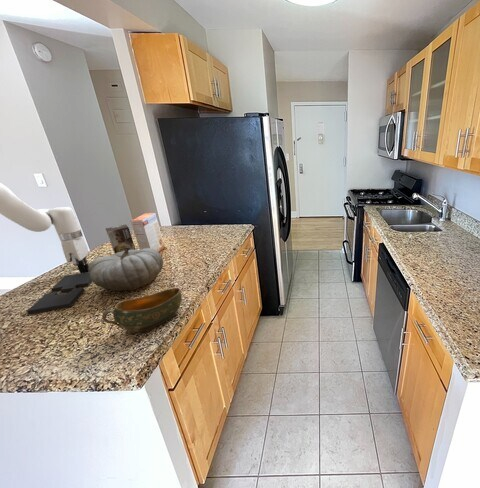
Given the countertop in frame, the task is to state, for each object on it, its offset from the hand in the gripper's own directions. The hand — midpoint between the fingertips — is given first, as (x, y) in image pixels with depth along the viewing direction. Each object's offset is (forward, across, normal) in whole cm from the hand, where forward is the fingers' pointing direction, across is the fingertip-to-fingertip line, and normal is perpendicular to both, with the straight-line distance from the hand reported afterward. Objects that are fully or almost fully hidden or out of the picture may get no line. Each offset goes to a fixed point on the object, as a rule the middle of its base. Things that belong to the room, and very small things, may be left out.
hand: (85, 271), depth 121 cm
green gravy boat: (+1, +52, +36) cm, 63 cm away
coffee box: (+1, -16, +12) cm, 20 cm away
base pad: (+1, +25, 0) cm, 25 cm away
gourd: (+1, +20, +23) cm, 30 cm away
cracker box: (+1, -15, +25) cm, 29 cm away
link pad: (+1, +10, 0) cm, 10 cm away
